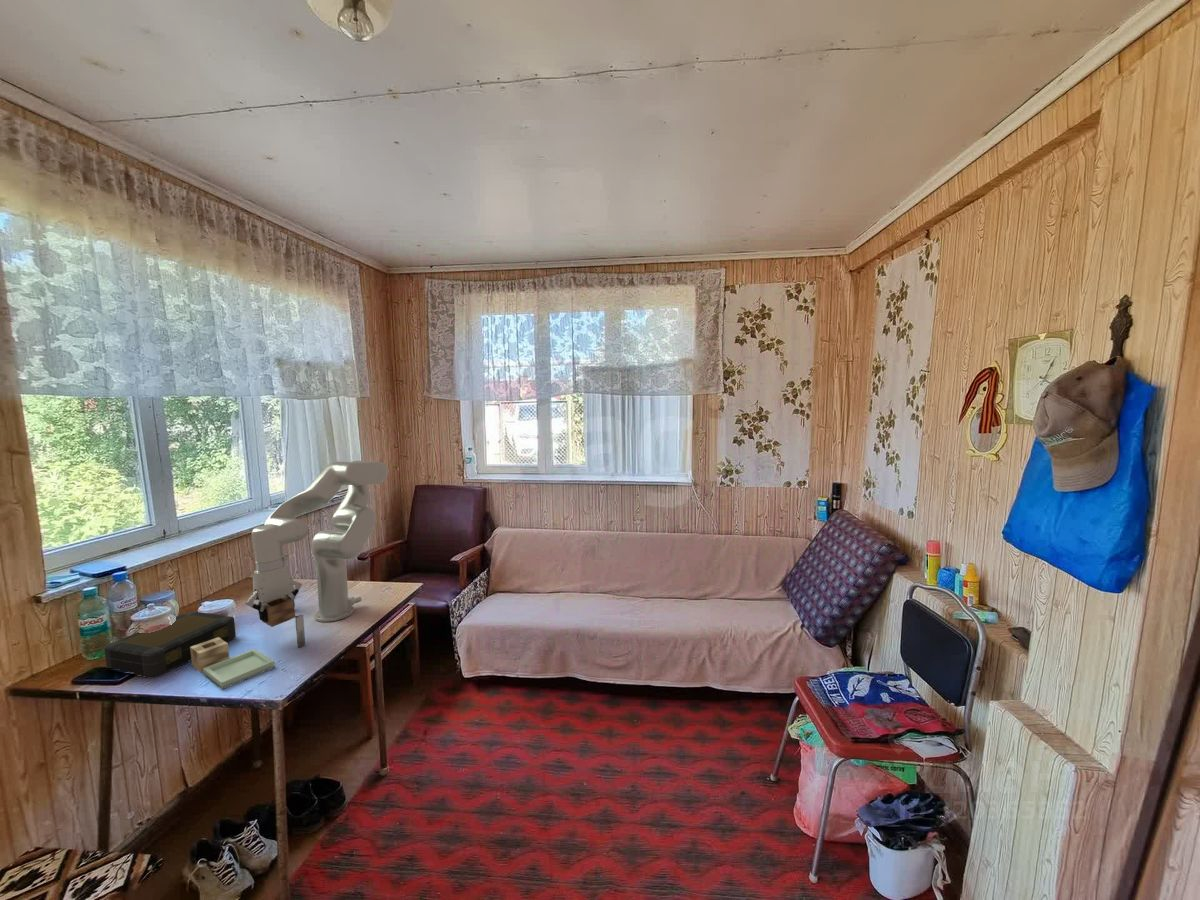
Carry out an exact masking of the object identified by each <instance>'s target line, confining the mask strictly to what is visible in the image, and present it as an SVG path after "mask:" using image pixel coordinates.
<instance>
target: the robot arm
mask: <svg viewBox="0 0 1200 900" xmlns="http://www.w3.org/2000/svg"><path fill="white" fill-rule="evenodd" d="M388 476H389V469H388V466H387V465H386V464H385V463H384V462H382V461H376V460H375V461H374V460H354V461H353V460H352V461H333V462H330V463H328V465H327V466H325V468H324V469H323V470H322V471H321V472H320V473H319V475H318V476H317V477H316V478H315V479H314V480H313V481H312V483H310V484H309V486H308V487H307V488H306V489H304V490H303V491H302V492H299V493H298V494H297V493H296V494H295V495H294V496H292V497H290V498H289V499H287V500H286V501H283V502H282V503H281V504H280V505H279V506H277V507H276V509H275V510H274V511H272V513H271V514H270V515H269V516H268V518H267V519H266V520H265V522H264V524H263V525H259V526H257V527H255V528H253V529H252V530H251V533H250V534H251V535H250V536H251V541H252V547H253V553H254V554H253V555H254V560H255V566H256V570H254V571H253V574H252V575H253V576H252V590H253V592H252V594H251V595H250V597H249V598H248V599H246V601H245V605H246V606H249V607H250V608H252V609H254V610H256V611H258V617H259V620H260V621H261V622H262V621H264V622H265V623H264V622H263V623H264V624H266V622H268V617H267V611H266V610H265V607H266V604H267V602H268V601H271V600H274V599H276V598H279V597H282V596H284V595H286V596H287V597H288V598H290V599H292V600H293V602H294V608H296V603H295V599H296V597H297V595H298V594H299V591H300V589H301V588H302V586H303V583H302V582H299V581H296V580H293V576H292V574H291V571H290V570H291V569H290V568H289V564H288V563H286V561H287V560H289V559H290V557H289V555H288V554H286V555H285V553H284V545H287V544H293V543H297V542H299V541H302V540H304V538H305V537H307V536H308V535H309V532H310V525H309V524H308V523H307V522H306V521H305V520H303V519H300V518H298V517H299V516H301V515H303V514H304V513H307V512H310V511H314V510H318V509H320V508H322V507H325V506H327V505H328V504H329V503H330V502H331V501H332V500H333V498H334V497H335V496H336V495H337V493H338V492H339V491H340V490H341V489H342V487H343V486H347V492H346V494H345V496H344V498H343V499H342V500H341V502H340V504H339V505H338V507H337V508H336V509H335V511H334V513H333V515H332V517H331V525H332V526H333V528H335V529H337V530H335V529H324V530H321V531H319V532H317V533H316V534H314V536H313V537H312V540H311V552H312V555H313V558H314V561H315V568H316V569H315V570H316V582H317V583H316V585H317V598H318V611H316V613H315V614H314V619H315V621H317V622H321V623H322V622H323V623H329V622H335V621H339V620H343V619H345V618H347V617H349V616H351V615H352V614H353V613H354V611H355V610H354V609H355V608H354V604H358V603H360V602H362V597H361V596H357V597H354V596H352V597H349V587H348V575H347V574H348V573H347V572H348V570H347V562H346V561H345V560H351V559H354V558H356V556H358V555H359V554H360V553H361V551H362V550H363V548H364V546H365V544H366V542H367V540H368V539H369V537H370V536H371V534H372V532H373V530H374V528H375V526H376V523H377V515H376V514H377V513H376V511H375V510H374V509H373V508H371V507H369V506H368V504H369V502H370V500H371V492H370V488H369V486H371V485H378V484H382V483H383V482H385V481H386V480H387V479H388ZM305 539H306V538H305ZM255 600H256V601H258V602H257V604H256V603H254V601H255Z"/></svg>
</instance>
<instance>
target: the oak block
mask: <svg viewBox="0 0 1200 900" xmlns="http://www.w3.org/2000/svg"><path fill="white" fill-rule="evenodd" d="M190 651H191V660H190V661H191V667H193V668H194V669H195V670H197V671H198V672H199V673H201V674H202V673H203V668H205V667H208V666H210V665H213V664H216V663H218V662H221V661H224V660H226V659H229V658H230V653H229V652H230V651H229V642H225V641H224V640H222V639H221V638H219V637H218V638H215V639H212V640H209V641H206V642H203V643H200V644H197V645H194V646H191V647H190Z"/></svg>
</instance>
